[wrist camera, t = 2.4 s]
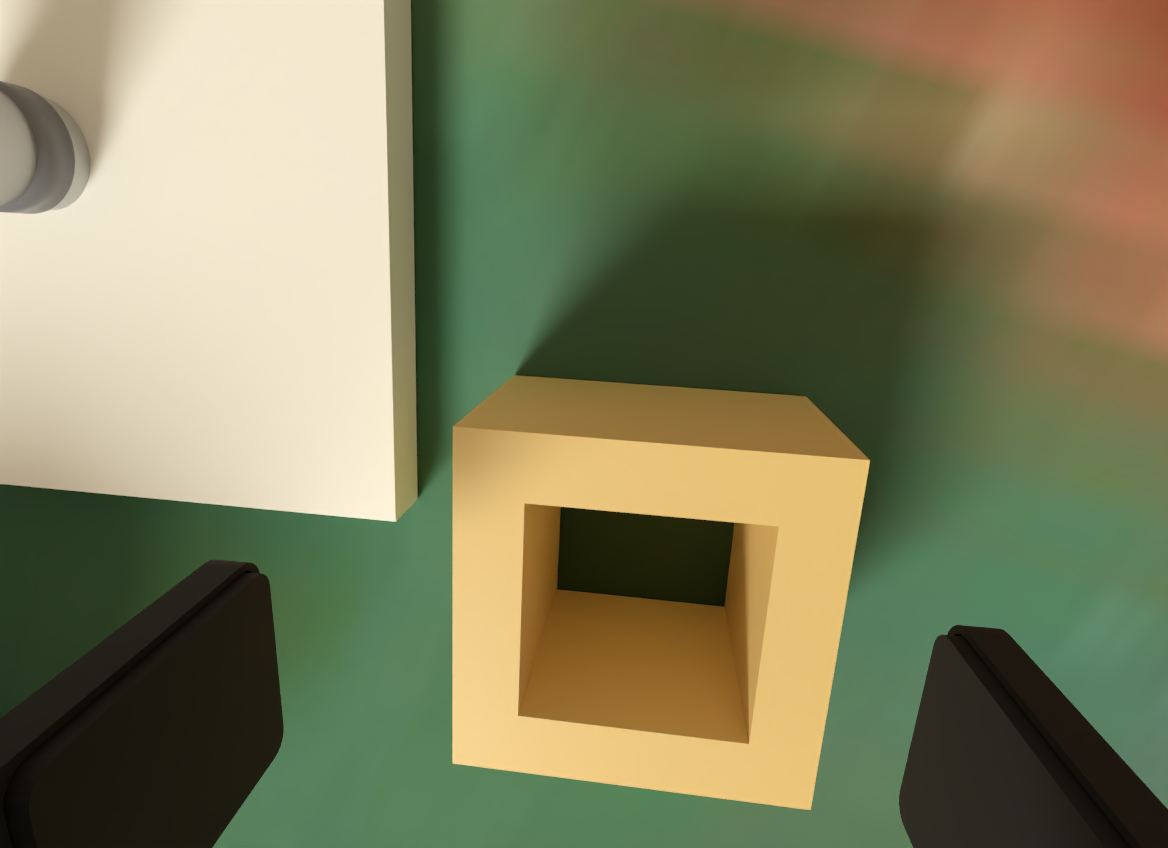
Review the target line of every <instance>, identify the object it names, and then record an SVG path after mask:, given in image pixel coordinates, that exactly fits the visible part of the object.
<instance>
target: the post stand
mask: <svg viewBox="0 0 1168 848" xmlns="http://www.w3.org/2000/svg"><path fill="white" fill-rule="evenodd" d="M0 484H7V485H17V486H28V487H38V488H49V489H59V490H69V491H80V492H90V493H101V494H111V495H122V496H132V497H143V498H153V499H164V500H174V501H185V502H195V503H205V504H216V505H226V506H237V507H247V508H258V509H268V510H279V511H289V512H300V513H310V514H320V515H331V516H341V517H352V518H362V519H373V520H383V521H394V522H396V521H397V520H398V519H399V518H400V517H401V516H402V515H403V514H404V513H405V512H406V511H407V510H408V509H409V508H410V507H411V506H412V505H413V504H414V503H415V502H416V501H417V500H418V490H417V417H416V344H415V271H414V198H413V125H412V51H411V0H0Z"/></svg>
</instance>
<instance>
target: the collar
mask: <svg viewBox="0 0 1168 848" xmlns="http://www.w3.org/2000/svg"><path fill="white" fill-rule="evenodd" d="M869 464H870V460H869V459H868V458H867V457H866V456H865V455H864V454H863V453H862V452H861V451H860V450H859V449H858V448H857V447H856V446H855V445H854V444H853V443H852V442H851V441H850V440H849V439H848V438H847V437H846V436H845V435H844V434H843V433H842V432H841V431H840V430H839V429H838V428H837V427H836V426H835V425H834V424H833V423H832V422H831V421H830V420H829V419H828V418H827V417H826V416H825V415H824V414H823V413H822V412H821V411H820V410H819V409H818V408H817V407H816V406H815V405H814V404H813V403H812V402H811V401H810V400H809V399H808V398H807V397H806V396H795V395H781V394H768V393H754V392H740V391H726V390H712V389H699V388H685V387H671V386H657V385H644V384H630V383H616V382H602V381H588V380H575V379H561V378H547V377H533V376H519V375H514V376H513V377H512V378H510V379H509V380H508V381H507V382H506V383H504V384H503V385H502V386H501V387H500V388H498V389H497V390H496V391H495V392H494V393H492V394H491V395H490V396H489V397H488V398H486V399H485V400H484V401H483V402H482V403H480V404H479V405H478V406H477V407H476V408H474V409H473V410H472V411H471V412H470V413H469V414H467V415H466V416H465V417H464V418H463V419H461V420H460V421H459V422H458V423H457V424H455V425H454V426H453V763H454V764H461V765H469V766H477V767H484V768H492V769H500V770H507V771H515V772H523V773H530V774H538V775H546V776H553V777H561V778H569V779H576V780H584V781H592V782H599V783H607V784H615V785H622V786H630V787H638V788H645V789H653V790H661V791H668V792H676V793H684V794H691V795H699V796H707V797H714V798H722V799H730V800H737V801H745V802H753V803H760V804H768V805H776V806H783V807H791V808H799V809H806V810H811V804H812V798H813V793H814V787H815V781H816V775H817V769H818V763H819V757H820V752H821V746H822V740H823V734H824V728H825V722H826V716H827V711H828V705H829V699H830V693H831V687H832V681H833V675H834V670H835V664H836V658H837V652H838V646H839V640H840V634H841V628H842V623H843V617H844V611H845V605H846V599H847V593H848V587H849V582H850V576H851V570H852V564H853V558H854V552H855V546H856V541H857V535H858V529H859V523H860V517H861V511H862V505H863V499H864V494H865V488H866V482H867V476H868V470H869ZM561 507H569V508H580V509H591V510H602V511H613V512H624V513H635V514H646V515H657V516H668V517H679V518H690V519H701V520H712V521H723V522H734V530H733V539H732V547H731V556H730V564H729V573H728V581H727V589H726V598H725V606H724V607H723V606H713V605H703V604H694V603H684V602H674V601H665V600H655V599H645V598H636V597H626V596H616V595H607V594H597V593H587V592H577V591H568V590H558V589H557V580H558V558H559V536H560V514H561Z"/></svg>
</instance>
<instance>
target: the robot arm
mask: <svg viewBox="0 0 1168 848" xmlns="http://www.w3.org/2000/svg"><path fill="white" fill-rule="evenodd" d="M282 738H283V717H282V706H281V696H280V686H279V675H278V665H277V655H276V644H275V634H274V624H273V614H272V603H271V593H270V584H269V580H268V578H267V576H265V575H264V574H260V573H259V570H258V568H257V566H256V565H254V564H253V563H247V562H235V561H224V560H210V561H208V562H206V563H205V564H203V565H202V566H201V567H199V568H198V569H197V570H195V571H194V572H193V573H192V574H190V575H189V576H188V577H186V578H185V579H184V580H182V581H181V582H180V583H178V584H177V585H176V586H174V587H173V588H172V589H170V590H169V591H168V592H167V593H165V594H164V595H163V596H161V597H160V598H159V599H157V600H156V601H155V602H153V603H152V604H151V605H149V606H148V607H147V608H146V609H144V610H143V611H142V612H140V613H139V614H138V615H136V616H135V617H134V618H132V619H131V620H130V621H128V622H127V623H126V624H124V625H123V626H122V627H121V628H119V629H118V630H117V631H115V632H114V633H113V634H111V635H110V636H109V637H107V638H106V639H105V640H103V641H102V642H101V643H100V644H98V645H97V646H96V647H94V648H93V649H92V650H90V651H89V652H88V653H86V654H85V655H84V656H82V657H81V658H80V659H78V660H77V661H76V662H75V663H73V664H72V665H71V666H69V667H68V668H67V669H65V670H64V671H63V672H61V673H60V674H59V675H57V676H56V677H55V678H54V679H52V680H51V681H50V682H48V683H47V684H46V685H44V686H43V687H42V688H40V689H39V690H38V691H36V692H35V693H34V694H32V695H31V696H30V697H29V698H27V699H26V700H25V701H23V702H22V703H21V704H19V705H18V706H17V707H15V708H14V709H13V710H11V711H10V712H9V713H8V714H6V715H5V716H4V717H2V718H1V719H0V848H212V847H213V846H214V844H215V843H216V841H217V840H218V838H219V837H220V836H221V834H222V833H223V831H224V830H225V828H226V827H227V826H228V824H229V823H230V821H231V820H232V818H233V817H234V815H235V814H236V813H237V811H238V810H239V808H240V807H241V805H242V804H243V803H244V801H245V800H246V798H247V797H248V795H249V794H250V793H251V791H252V790H253V788H254V787H255V785H256V784H257V782H258V781H259V780H260V778H261V777H262V775H263V774H264V772H265V771H266V770H267V768H268V767H269V765H270V764H271V762H272V761H273V760H274V758H275V756H276V755H277V753H278V751H279V748H280V746H281V742H282ZM899 806H900V814H901V818H902V822H903V825H904V827H905V830H906V832H907V834H908V836H909V839H910V841H911V843H912V845H913V848H1168V809H1167V808H1166V807H1165V806H1164V805H1163V804H1162V803H1161V801H1160V800H1159V799H1158V798H1157V797H1156V796H1155V795H1154V794H1153V793H1152V792H1151V790H1150V789H1149V788H1148V787H1147V786H1146V785H1145V784H1144V783H1143V782H1142V780H1141V779H1140V778H1139V777H1138V776H1137V775H1136V774H1135V773H1134V772H1133V771H1132V769H1131V768H1130V767H1129V766H1128V765H1127V764H1126V763H1125V762H1124V761H1123V760H1122V758H1121V757H1120V756H1119V755H1118V754H1117V753H1116V752H1115V751H1114V750H1113V749H1112V747H1111V746H1110V745H1109V744H1108V743H1107V742H1106V741H1105V740H1104V739H1103V737H1102V736H1101V735H1100V734H1099V733H1098V732H1097V731H1096V730H1095V729H1094V728H1093V726H1092V725H1091V724H1090V723H1089V722H1088V721H1087V720H1086V719H1085V718H1084V717H1083V715H1082V714H1081V713H1080V712H1079V711H1078V710H1077V709H1076V708H1075V707H1074V706H1073V704H1072V703H1071V702H1070V701H1069V700H1068V699H1067V698H1066V697H1065V696H1064V694H1063V693H1062V692H1061V691H1060V690H1059V689H1058V688H1057V687H1056V686H1055V685H1054V683H1053V682H1052V681H1051V680H1050V679H1049V678H1048V677H1047V676H1046V675H1045V674H1044V672H1043V671H1042V670H1041V669H1040V668H1039V667H1038V666H1037V665H1036V664H1035V663H1034V661H1033V660H1032V659H1031V658H1030V657H1029V656H1028V655H1027V654H1026V653H1025V651H1024V650H1023V649H1022V648H1021V647H1020V646H1019V645H1018V644H1017V643H1016V642H1015V640H1014V639H1013V638H1012V637H1011V636H1010V635H1009V634H1008V633H1007V632H1005V631H1004V630H1002V629H996V628H985V627H973V626H962V625H956V626H953V627H952V628H951V629H950V631H949V632H948V635H940V636H938V637H937V639H936V640H935V643H934V646H933V650H932V655H931V659H930V663H929V668H928V672H927V676H926V681H925V685H924V689H923V694H922V698H921V702H920V707H919V711H918V716H917V720H916V724H915V729H914V733H913V737H912V742H911V746H910V750H909V755H908V759H907V763H906V768H905V772H904V776H903V781H902V785H901V789H900V795H899Z"/></svg>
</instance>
